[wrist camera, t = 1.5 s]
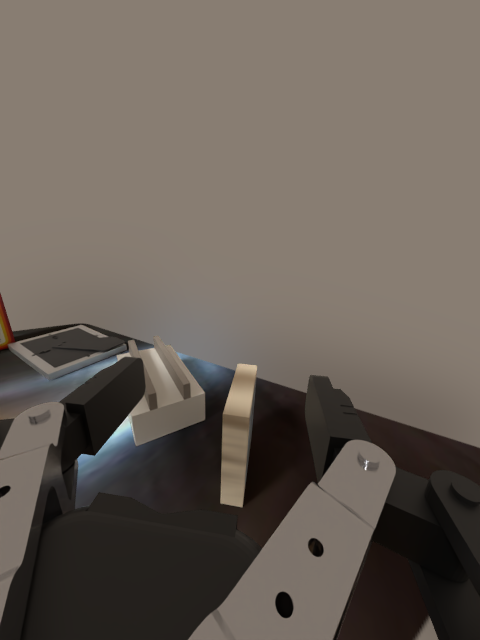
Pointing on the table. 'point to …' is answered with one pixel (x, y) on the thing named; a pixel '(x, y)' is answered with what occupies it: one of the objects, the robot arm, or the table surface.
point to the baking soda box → (5, 328)
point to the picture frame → (66, 350)
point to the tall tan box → (237, 435)
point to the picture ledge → (164, 394)
